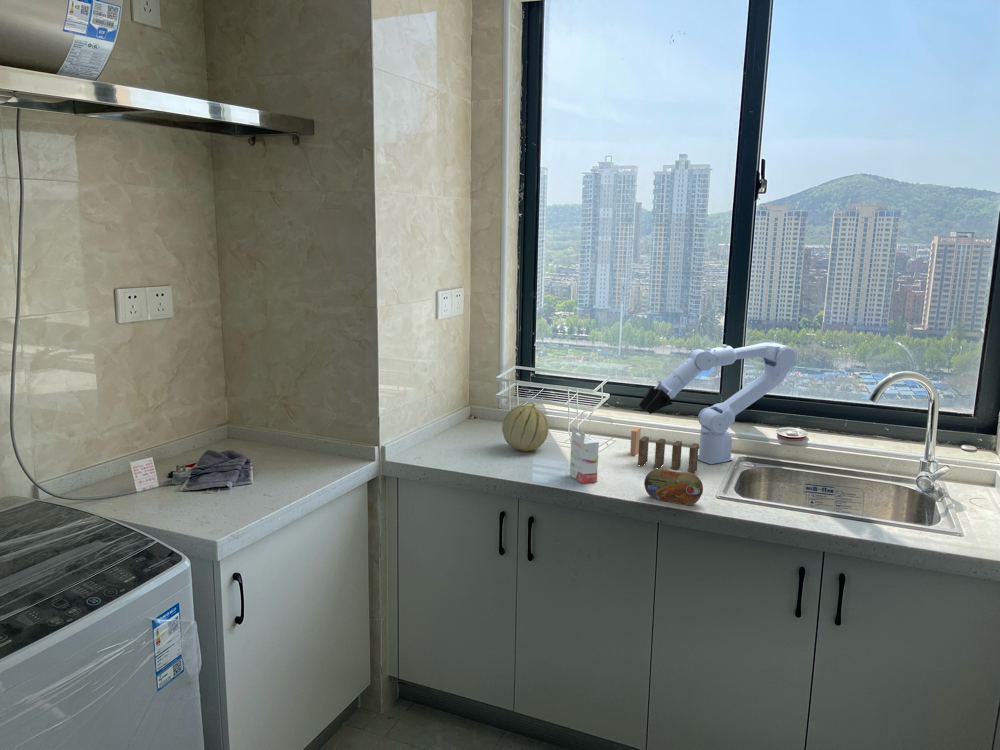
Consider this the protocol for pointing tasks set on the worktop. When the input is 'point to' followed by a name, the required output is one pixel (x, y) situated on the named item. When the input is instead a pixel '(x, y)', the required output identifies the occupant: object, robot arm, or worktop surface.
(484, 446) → the worktop surface
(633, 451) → the domino
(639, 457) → the domino
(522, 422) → the cantaloupe
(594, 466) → the ink cartridge box
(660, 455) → the domino
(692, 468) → the domino
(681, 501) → the tin
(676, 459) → the domino
